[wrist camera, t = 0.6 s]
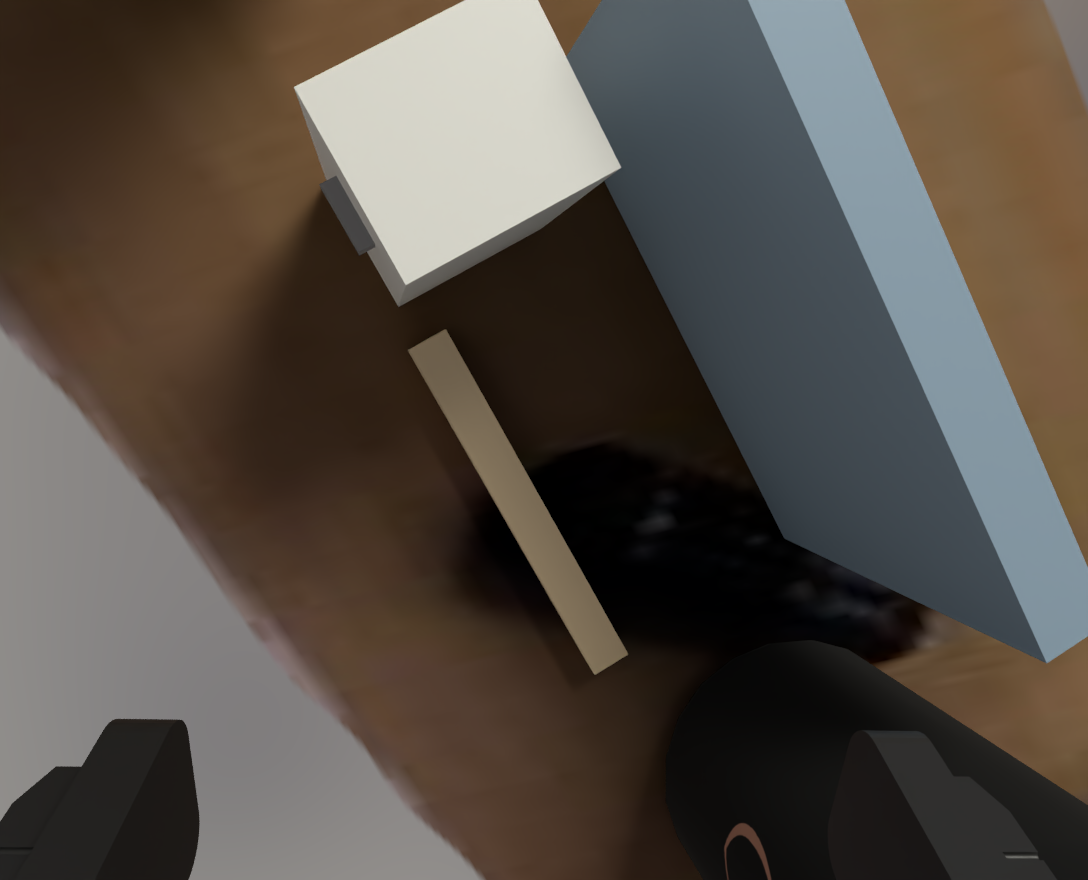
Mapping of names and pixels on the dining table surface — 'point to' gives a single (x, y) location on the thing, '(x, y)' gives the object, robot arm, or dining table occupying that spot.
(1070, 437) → the dining table surface
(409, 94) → the cabinet
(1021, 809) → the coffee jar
